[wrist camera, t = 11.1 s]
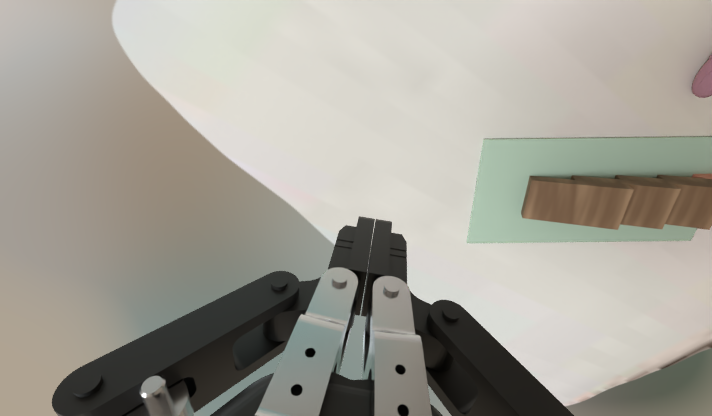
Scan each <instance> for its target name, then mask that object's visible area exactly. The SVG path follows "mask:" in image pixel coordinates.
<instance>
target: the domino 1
mask: <svg viewBox="0 0 712 416" xmlns="http://www.w3.org/2000/svg"><path fill="white" fill-rule="evenodd" d="M633 191H634V189H632V188H631V187H630V186H629V185H628V184H616V183H605V182H594V181H583V180H572V179H560V178H549V177H538V176H530V177H529V181H528V185H527V189H526V193H525V197H524V202H523V206H522V210H521V215H522V218H525V219H533V220H541V221H549V222H557V223H565V224H573V225H582V226H590V227H598V228H606V229H614V230H618V228H619V226H620V223H621V221H622V218H623V216H624V213H625V211H626V208H627V206H628V203H629V201H630V198H631V196H632V193H633Z"/></svg>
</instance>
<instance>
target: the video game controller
mask: <svg viewBox="0 0 712 416" xmlns="http://www.w3.org/2000/svg"><path fill="white" fill-rule="evenodd" d="M709 57H710V58H709V59H708V61H707V62H706V63H705V64H704V65H703V66H702V68H701V69H700V70H699V72H698V73H697V75H696V76H695V79H694V81H693V84H692V91H693V94H695V95H696V96H698V97H702V98H705V97H709V96H711V95H712V55H711V56H709Z"/></svg>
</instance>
